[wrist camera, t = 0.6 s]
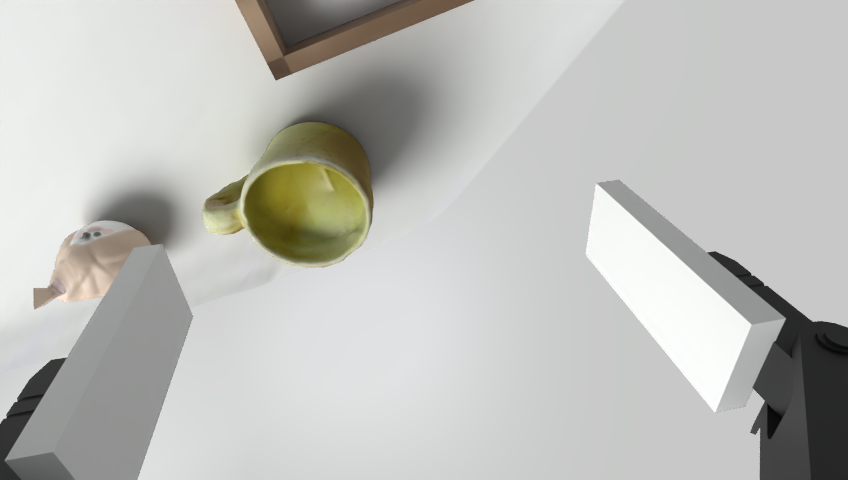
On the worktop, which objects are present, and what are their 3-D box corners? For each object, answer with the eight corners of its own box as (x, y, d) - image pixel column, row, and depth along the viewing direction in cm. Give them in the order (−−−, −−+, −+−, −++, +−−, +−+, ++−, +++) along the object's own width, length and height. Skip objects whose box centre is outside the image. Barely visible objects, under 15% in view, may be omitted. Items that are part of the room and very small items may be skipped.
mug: (389, 104, 37) (370, 193, 30) (381, 200, 44) (364, 288, 38) (226, 79, 36) (170, 165, 29) (246, 182, 44) (206, 268, 37)
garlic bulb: (81, 196, 38) (29, 250, 31) (168, 220, 40) (136, 275, 34) (71, 262, 41) (20, 324, 34) (153, 281, 43) (120, 343, 36)
